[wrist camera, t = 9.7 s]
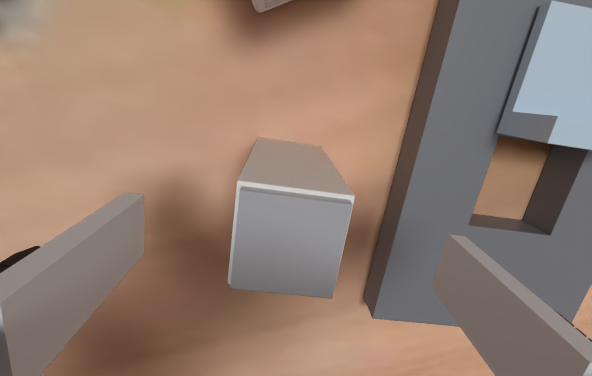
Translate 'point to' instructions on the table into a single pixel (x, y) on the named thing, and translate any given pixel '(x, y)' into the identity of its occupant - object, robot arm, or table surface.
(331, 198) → the plug
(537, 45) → the light blue l-shaped block
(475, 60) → the socket block
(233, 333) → the table surface
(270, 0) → the ink box
